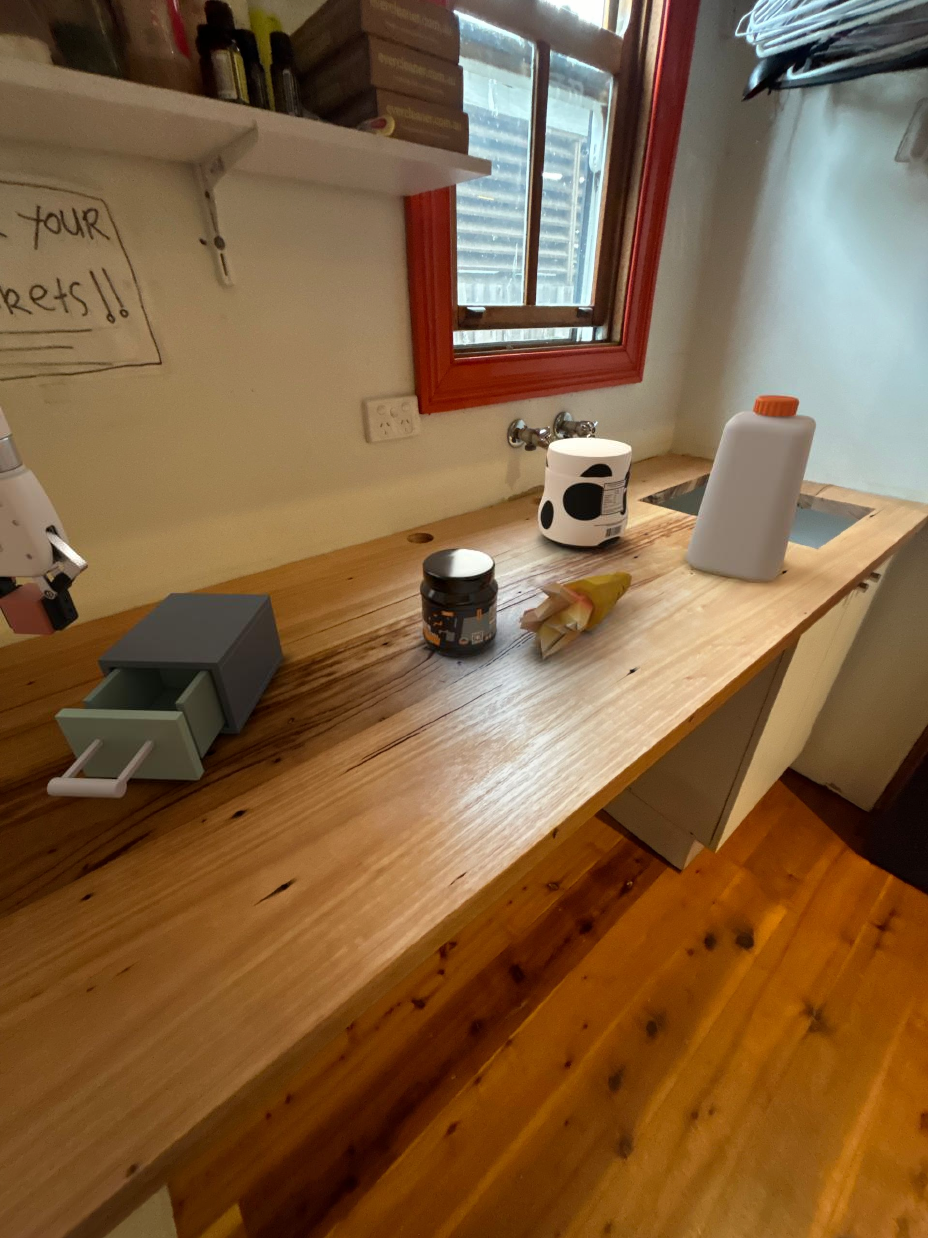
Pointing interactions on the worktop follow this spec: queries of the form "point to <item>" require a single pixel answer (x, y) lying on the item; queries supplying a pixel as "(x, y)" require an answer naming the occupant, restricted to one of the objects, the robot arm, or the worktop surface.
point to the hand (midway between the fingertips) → (45, 621)
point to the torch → (573, 609)
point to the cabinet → (208, 646)
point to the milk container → (585, 492)
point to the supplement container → (459, 601)
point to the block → (27, 611)
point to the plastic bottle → (753, 492)
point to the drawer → (140, 730)
